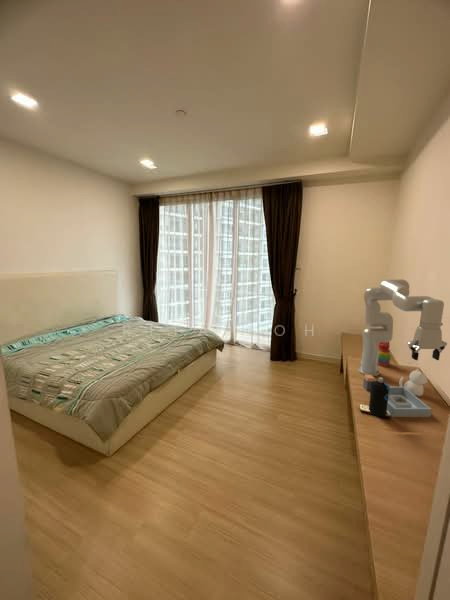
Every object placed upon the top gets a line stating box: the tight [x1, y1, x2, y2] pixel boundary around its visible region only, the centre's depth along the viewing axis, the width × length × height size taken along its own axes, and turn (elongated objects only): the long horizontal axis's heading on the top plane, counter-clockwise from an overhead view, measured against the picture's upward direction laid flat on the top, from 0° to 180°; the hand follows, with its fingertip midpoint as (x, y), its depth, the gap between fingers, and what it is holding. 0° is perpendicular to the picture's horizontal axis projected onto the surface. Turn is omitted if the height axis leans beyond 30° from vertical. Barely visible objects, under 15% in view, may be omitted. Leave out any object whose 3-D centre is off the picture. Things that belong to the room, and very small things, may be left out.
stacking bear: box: [377, 342, 392, 368], centre depth 173 cm, size 11×10×18 cm
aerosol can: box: [368, 376, 391, 418], centre depth 121 cm, size 8×8×20 cm
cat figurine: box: [398, 368, 428, 397], centre depth 137 cm, size 9×12×15 cm
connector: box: [363, 374, 376, 392], centre depth 143 cm, size 4×4×9 cm
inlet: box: [388, 395, 412, 408], centre depth 128 cm, size 8×8×3 cm
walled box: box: [387, 386, 432, 418], centre depth 128 cm, size 20×18×5 cm
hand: (424, 359), depth 114 cm, fingers open, 9 cm apart
